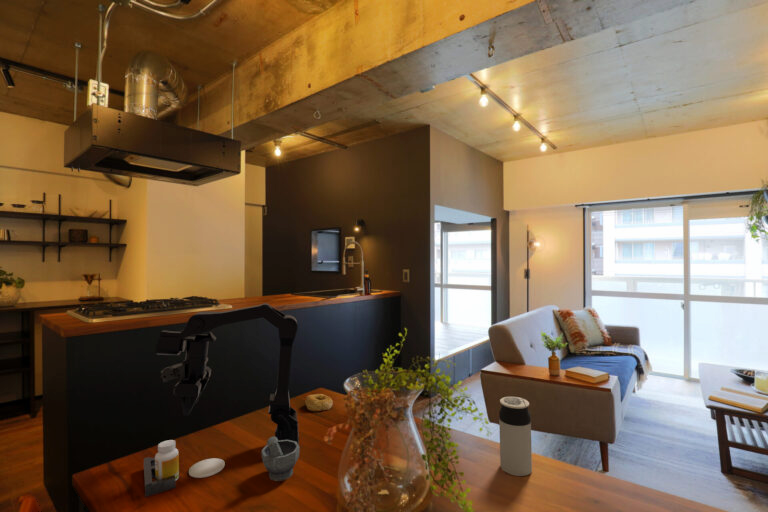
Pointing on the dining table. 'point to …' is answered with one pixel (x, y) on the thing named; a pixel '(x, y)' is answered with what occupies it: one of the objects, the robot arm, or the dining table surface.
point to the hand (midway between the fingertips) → (190, 409)
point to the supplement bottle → (167, 460)
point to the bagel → (318, 402)
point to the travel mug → (515, 436)
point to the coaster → (206, 468)
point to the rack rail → (156, 485)
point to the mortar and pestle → (280, 458)
